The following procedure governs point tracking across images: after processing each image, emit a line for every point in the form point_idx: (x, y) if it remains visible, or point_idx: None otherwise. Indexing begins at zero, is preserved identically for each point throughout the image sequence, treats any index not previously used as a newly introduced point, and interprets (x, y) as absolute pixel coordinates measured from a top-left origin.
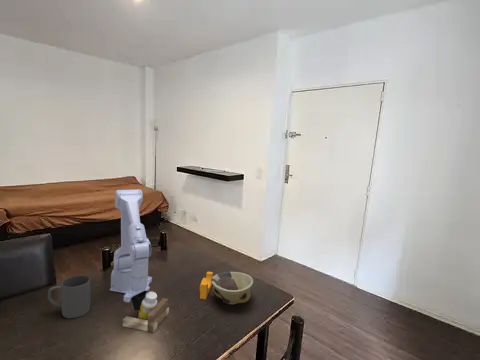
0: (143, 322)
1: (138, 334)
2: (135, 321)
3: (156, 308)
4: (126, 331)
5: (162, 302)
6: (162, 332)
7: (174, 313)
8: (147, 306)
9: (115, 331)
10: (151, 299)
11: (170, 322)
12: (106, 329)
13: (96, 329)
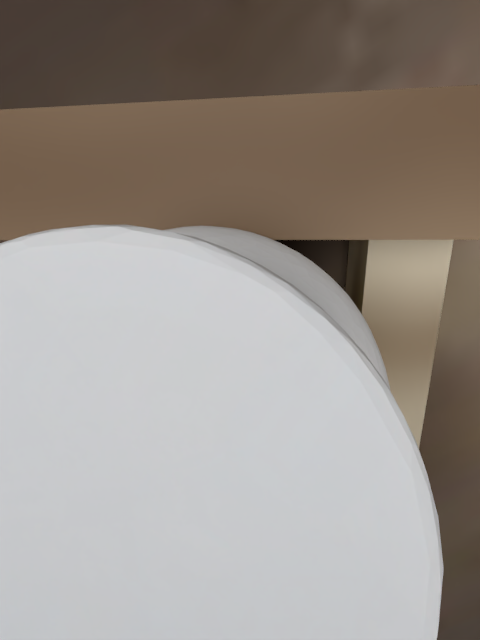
0: (413, 310)
1: (473, 297)
2: (413, 407)
3: (278, 179)
4: (445, 421)
5: (34, 168)
6: (400, 46)
7: (47, 93)
8: (384, 378)
9: (458, 500)
10: (377, 388)
11: (205, 50)
12: (443, 567)
13: (454, 624)
